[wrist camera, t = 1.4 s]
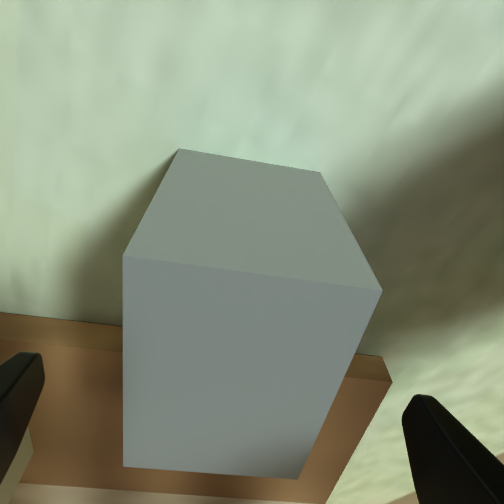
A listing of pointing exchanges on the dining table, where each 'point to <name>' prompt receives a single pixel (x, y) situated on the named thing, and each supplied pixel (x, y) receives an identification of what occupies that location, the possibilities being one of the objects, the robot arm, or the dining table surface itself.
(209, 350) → the tea tin
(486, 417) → the dining table surface
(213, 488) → the shelf
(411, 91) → the dining table surface
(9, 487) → the sage tin
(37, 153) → the dining table surface
